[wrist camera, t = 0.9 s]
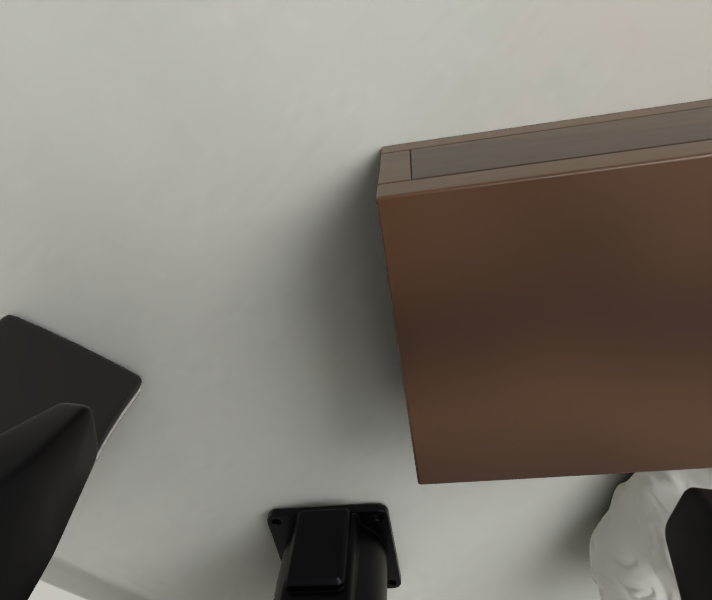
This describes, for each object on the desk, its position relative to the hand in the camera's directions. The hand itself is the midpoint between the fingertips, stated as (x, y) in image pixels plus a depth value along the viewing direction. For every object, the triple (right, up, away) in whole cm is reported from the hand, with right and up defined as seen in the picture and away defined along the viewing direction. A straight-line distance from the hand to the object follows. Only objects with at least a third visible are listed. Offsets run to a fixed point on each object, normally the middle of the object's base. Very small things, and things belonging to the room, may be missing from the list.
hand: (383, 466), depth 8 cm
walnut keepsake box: (+9, +4, +13) cm, 16 cm away
